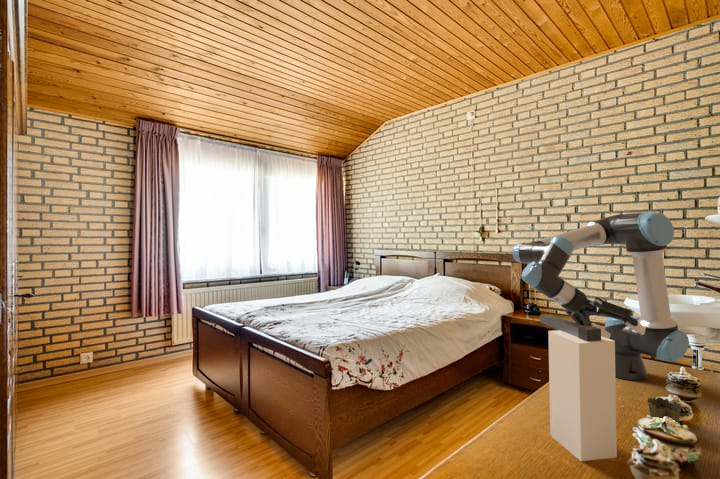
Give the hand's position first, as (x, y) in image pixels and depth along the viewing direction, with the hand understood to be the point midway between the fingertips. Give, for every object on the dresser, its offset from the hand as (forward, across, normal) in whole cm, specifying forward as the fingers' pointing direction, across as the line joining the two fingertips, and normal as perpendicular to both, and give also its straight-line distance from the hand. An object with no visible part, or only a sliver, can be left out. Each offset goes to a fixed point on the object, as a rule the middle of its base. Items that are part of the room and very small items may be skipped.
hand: (625, 334), depth 116 cm
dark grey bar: (-23, +10, -17) cm, 30 cm away
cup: (+17, +1, -21) cm, 27 cm away
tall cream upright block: (-5, +2, -40) cm, 40 cm away
